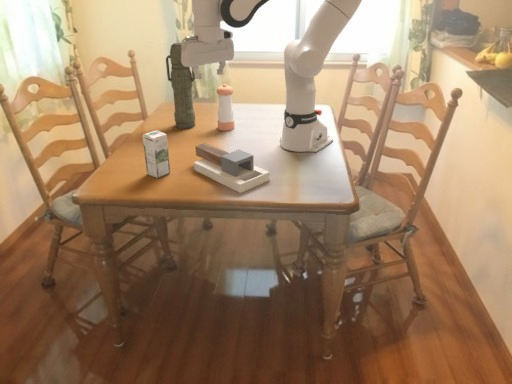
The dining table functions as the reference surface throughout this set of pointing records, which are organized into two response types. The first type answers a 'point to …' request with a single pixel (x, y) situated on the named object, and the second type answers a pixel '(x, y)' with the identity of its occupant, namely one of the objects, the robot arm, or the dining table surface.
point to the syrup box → (156, 153)
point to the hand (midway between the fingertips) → (209, 76)
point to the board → (234, 171)
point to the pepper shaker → (225, 108)
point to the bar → (210, 153)
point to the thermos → (181, 88)
